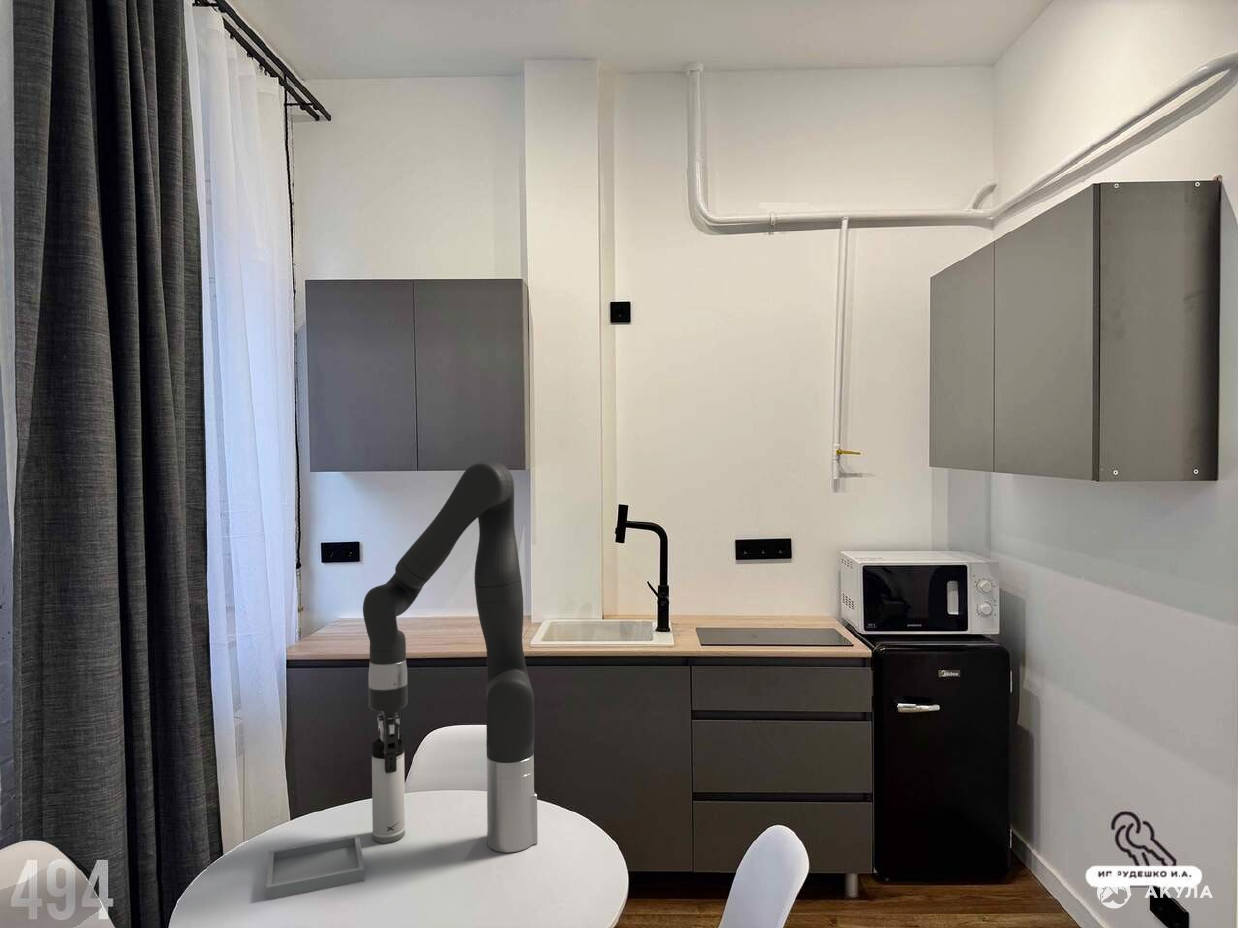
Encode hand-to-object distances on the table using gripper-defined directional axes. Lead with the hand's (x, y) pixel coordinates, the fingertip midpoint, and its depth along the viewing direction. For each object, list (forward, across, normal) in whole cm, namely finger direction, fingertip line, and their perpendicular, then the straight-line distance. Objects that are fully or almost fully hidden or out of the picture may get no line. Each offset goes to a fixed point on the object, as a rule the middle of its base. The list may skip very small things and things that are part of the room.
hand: (388, 765), depth 158 cm
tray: (+14, -9, +14) cm, 22 cm away
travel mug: (+14, 0, 0) cm, 14 cm away
